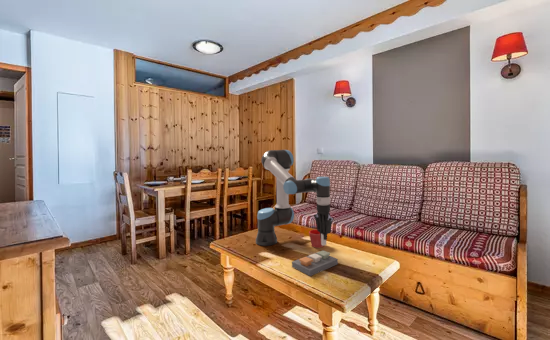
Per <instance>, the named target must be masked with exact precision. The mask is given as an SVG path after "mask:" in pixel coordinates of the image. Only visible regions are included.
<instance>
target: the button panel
mask: <svg viewBox="0 0 550 340" xmlns="http://www.w3.org/2000/svg"><path fill="white" fill-rule="evenodd" d="M313 254H317V252H315V253H313ZM308 256H309V255H306V256H304V257H308ZM304 257H302V258H304ZM299 259H300V258H298V259H296V260H293V261H291V268H294V269H296V271H297V270H298V271H299V272H302V273H303V274H305V275H307V276H309V277H311V276H312V277H313V276H314V275H316V274H319V273H321V272H323V271H326V270H329V269H330V268H332V267H335V266H337V265H338V264H339V259H338V258H336V257H334V256H331V255H329V258H326V259H322V258H320V261H319V262H316V263H314V262H311V265H309V266H304V265H302V264H301V262H300V261H299Z"/></svg>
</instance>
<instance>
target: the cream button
mask: <svg viewBox="0 0 550 340" xmlns="http://www.w3.org/2000/svg"><path fill="white" fill-rule="evenodd" d="M307 256H308V258H310V259H313V262H314V263H316V262H319V261H320V258H322V256H320V255H318V254H314V253H312V254H309V255H307Z"/></svg>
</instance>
